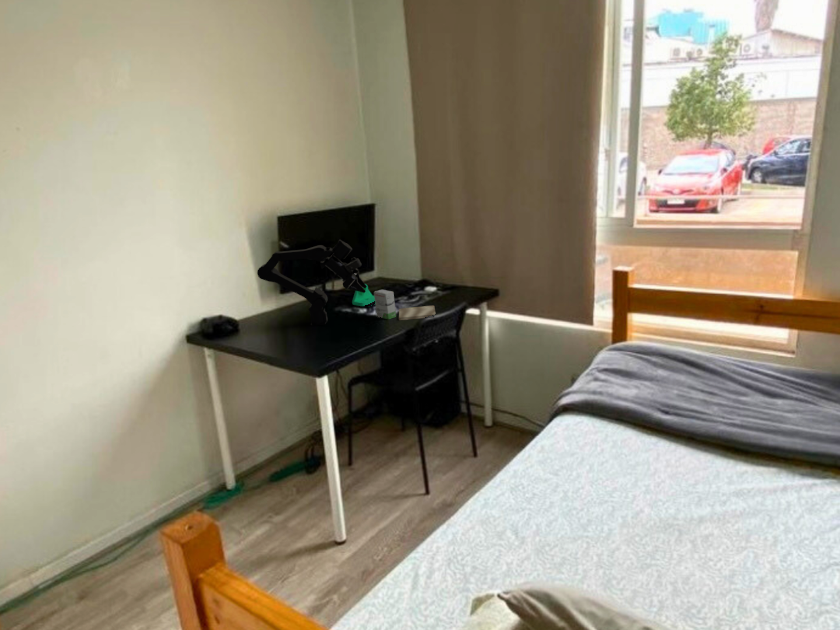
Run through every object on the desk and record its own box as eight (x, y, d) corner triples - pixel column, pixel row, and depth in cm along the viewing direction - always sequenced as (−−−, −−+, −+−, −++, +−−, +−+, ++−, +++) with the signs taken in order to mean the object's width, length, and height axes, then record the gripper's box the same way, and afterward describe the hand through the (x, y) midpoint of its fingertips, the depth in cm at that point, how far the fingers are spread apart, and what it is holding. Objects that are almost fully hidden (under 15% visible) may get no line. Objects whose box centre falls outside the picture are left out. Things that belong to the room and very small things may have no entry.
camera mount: (363, 308, 268) (360, 287, 265) (352, 306, 273) (350, 286, 270) (381, 302, 276) (379, 281, 273) (371, 300, 281) (368, 280, 278)
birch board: (399, 320, 244) (398, 317, 243) (399, 311, 257) (399, 308, 257) (435, 316, 244) (435, 314, 243) (434, 307, 257) (434, 305, 257)
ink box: (397, 316, 249) (394, 291, 246) (388, 319, 246) (385, 293, 243) (384, 313, 255) (381, 288, 252) (376, 316, 252) (373, 291, 249)
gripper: (347, 257, 233) (376, 280, 237) (351, 249, 251) (378, 271, 254) (330, 277, 235) (359, 300, 239) (335, 267, 253) (362, 289, 257)
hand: (365, 289), depth 247 cm, fingers open, 8 cm apart
